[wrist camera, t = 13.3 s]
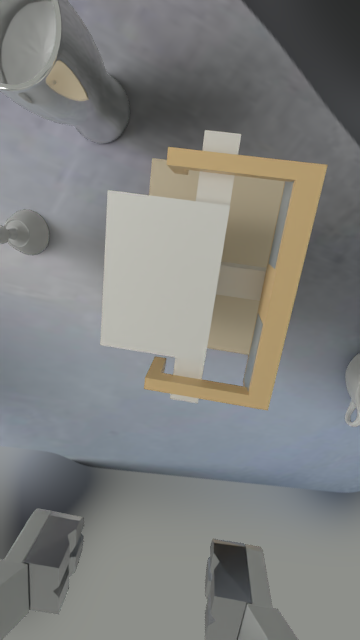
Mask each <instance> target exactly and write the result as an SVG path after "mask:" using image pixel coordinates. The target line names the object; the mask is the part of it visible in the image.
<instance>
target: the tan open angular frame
mask: <svg viewBox="0 0 360 640" xmlns="http://www.w3.org/2000/svg"><path fill="white" fill-rule="evenodd" d="M166 165H167V166H168V167H169V168H170V169H171V170H172V171H173V172H174V173H175V174H182V175H188V173H189V170H193V171H202V172H210V173H218V174H227V175H235V176H244V177H252V178H261V179H269V180H277V181H285V182H284V187H283V192H282V197H281V202H280V206H279V211H278V216H277V221H276V226H275V230H274V235H273V240H272V245H271V250H270V254H269V259H268V264H267V269H266V274H265V278H264V283H263V288H262V293H261V298H260V302H259V307H258V312H257V317H256V322H255V326H254V331H253V336H252V341H251V346H250V350H249V355H248V360H247V365H246V370H245V374H244V379H243V385H244V387H243V386H237V385H231V384H225V383H219V382H213V381H207V380H201V379H195V378H189V377H183V376H177V375H171V374H165V373H163V372H164V370H165V364H166V358H161V357H155V358H154V360H153V362H152V364H151V366H150V368H149V371H148V373H147V375H146V377H145V384H144V389H147V390H153V391H159V392H164V393H170V394H176V395H182V396H188V397H193V398H199V399H205V400H211V401H216V402H222V403H228V404H234V405H239V406H245V407H251V408H257V409H263V410H268V407H269V403H270V399H271V395H272V391H273V387H274V383H275V379H276V375H277V370H278V366H279V362H280V358H281V354H282V350H283V346H284V342H285V338H286V334H287V329H288V325H289V321H290V317H291V313H292V309H293V305H294V301H295V297H296V292H297V288H298V284H299V280H300V276H301V272H302V268H303V264H304V260H305V256H306V251H307V247H308V243H309V239H310V235H311V231H312V227H313V223H314V219H315V214H316V210H317V206H318V202H319V198H320V194H321V190H322V186H323V182H324V178H325V173H326V169H327V165H324V164H315V163H306V162H297V161H288V160H280V159H271V158H262V157H253V156H244V155H236V154H227V153H218V152H209V151H200V150H192V149H183V148H174V147H168V154H167V164H166Z"/></svg>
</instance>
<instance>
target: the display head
mask: <svg viewBox="0 0 360 640" xmlns="http://www.w3.org/2000/svg"><path fill="white" fill-rule="evenodd" d="M240 139H241V134H237V133H227V132H218V131H209V130H205V134H204V141H203V149H202V151H209V152H218V153H227V154H236V155H238V152H239V146H240ZM166 164H167V160H164V159H155V158H152V167H151V179H150V190H149V195H142V194H134V193H127V192H119V191H111V190H108V196H107V217H106V237H105V258H104V279H103V299H102V320H101V341H100V345H103V346H109V347H115V348H121V349H127V350H133V351H139V352H145V353H151V354H158V355H164V356H170V357H175V364H174V372H173V375H177V376H183V377H189V378H195V379H201V380H202V374H203V368H204V362H205V358H206V351H207V348H210V349H216V350H222V351H228V352H234V353H241V354H247V355H249V350H250V346H251V341H252V336H253V331H254V326H255V322H256V317H257V312H258V307H259V302H260V298H261V293H262V288H263V283H264V278H265V274H266V269H267V264H268V259H269V254H270V250H271V245H272V240H273V235H274V230H275V226H276V221H277V216H278V211H279V206H280V202H281V197H282V192H283V187H284V182H285V181H277V180H269V179H261V178H252V177H244V176H235V175H227V174H218V173H210V172H202V171H193V170H189V173H188V175H182V174H175V173H174V172H173V171H172V170H171V169H170V168H169V167H168V166H167V165H166ZM170 399H175V400H181V401H187V402H192V403H198V398H193V397H188V396H182V395H176V394H171V395H170Z"/></svg>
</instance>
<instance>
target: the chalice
mask: <svg viewBox="0 0 360 640" xmlns="http://www.w3.org/2000/svg"><path fill="white" fill-rule="evenodd" d="M48 241H49V230H48V226H47V224H46V222H45V221H44V219H43V218H42V217H41V216H40V215H39V214H38V213H36V212H34V211H32V210H25V209H24V210H20V211H17V212H16V213H15V214H13V215H12V216H11V217H10V218H9V219H7V221H6V223H5V225H4V226H2V225H0V244H4V243H6V242H8V244H9V245H10V246H12V247H13V248H15V249H16V250H18V251H20V252H22V253H24V254H27V255H36V254H39V253H41V252H42V251H44V249H45V248H46V247H47V245H48Z"/></svg>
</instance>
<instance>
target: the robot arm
mask: <svg viewBox="0 0 360 640" xmlns="http://www.w3.org/2000/svg"><path fill="white" fill-rule="evenodd" d="M83 527H84V518H83V517H78V516H74V515H69V514H64V513H58V512H53V511H49V510H43V509H36V510H35V511H34V513H32V515H31V517H30V518H29V520H28V522H27V523H26V525H25V527H24V528H23V530H22V531H21V533H20V535H19V536H18V538H17V540H16V541H15V543H14V544H13V546H12V548H11V549H10V551H9V552H8V554H7V556H6V557H5V559H4V560H3V559H0V640H2V639H3V638H4V637H5V636H6V635H7V634H8V633H9V632H10V631H11V630H12V629H13V628H14V627H15V626H16V625H17V624H18V623H19V622H20V621H21V620H22V619H23V618H24V617H25V616H26V615H27V614H28V613H29V610H33V611H40V612H46V613H53V614H59V612H60V610H61V607H62V605H63V602H64V599H65V597H66V594H67V592H68V589H69V577H70V576H71V575H72V574H73V573H75V571H76V568H77V565H78V563H79V559H80V556H81V552H82V547H83V539H84V537H83V535H82V534H81V532H82V529H83ZM205 596H206V598H207V605H206V610H205V640H298V638H297V637H296V635H295V634H294V632H293V631H292V629H291V628H290V626H289V625H288V623H287V622H286V620H285V619H284V617H283V616H282V614H281V613H280V611H279V610H278V609H276V608H273V607H272V601H271V595H270V589H269V584H268V578H267V572H266V566H265V560H264V554H263V550H262V548H261V547H259V546H253V545H246V544H243V543H237V542H231V541H224V540H218V539H212V542H211V546H210V557H209V558H208V562H207V569H206V580H205Z"/></svg>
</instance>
